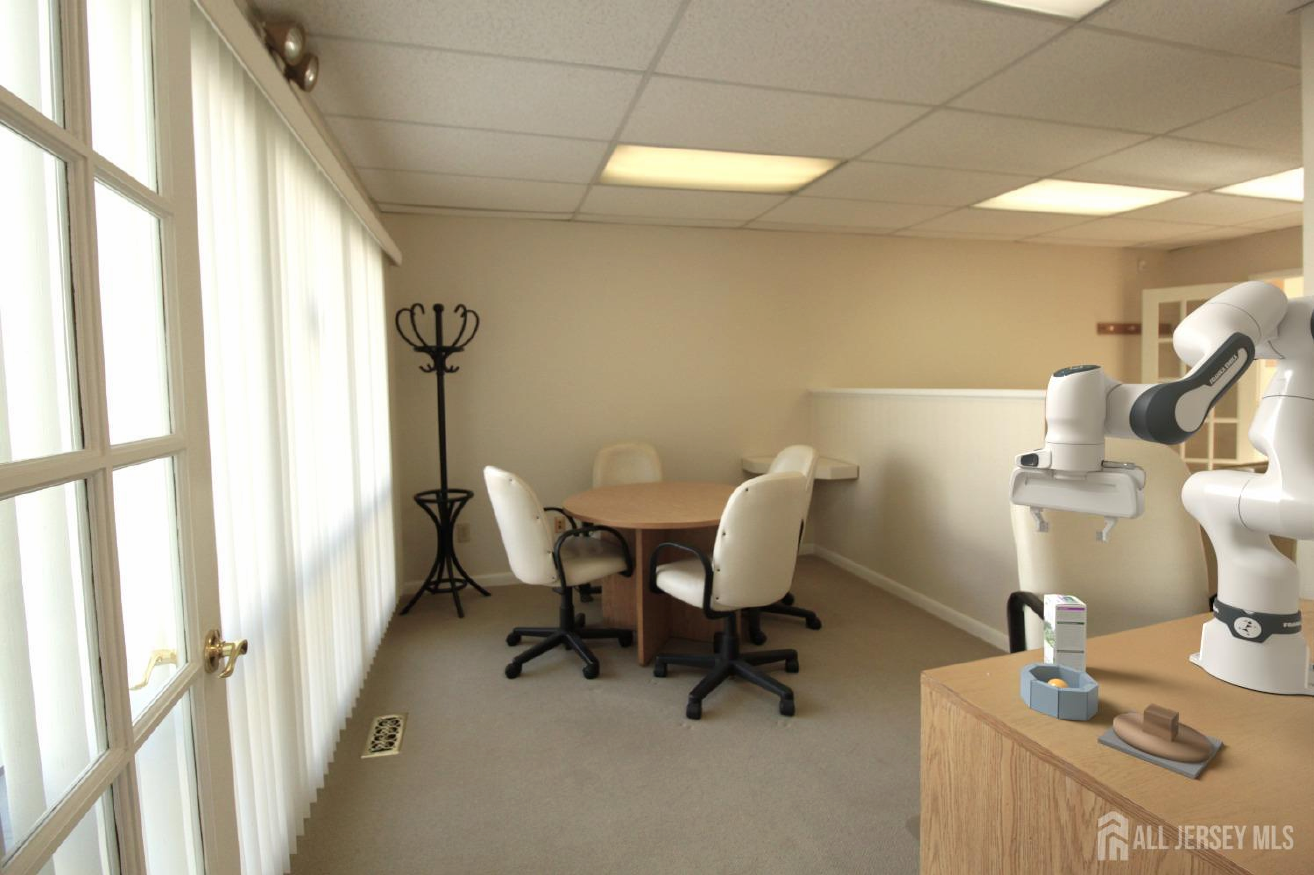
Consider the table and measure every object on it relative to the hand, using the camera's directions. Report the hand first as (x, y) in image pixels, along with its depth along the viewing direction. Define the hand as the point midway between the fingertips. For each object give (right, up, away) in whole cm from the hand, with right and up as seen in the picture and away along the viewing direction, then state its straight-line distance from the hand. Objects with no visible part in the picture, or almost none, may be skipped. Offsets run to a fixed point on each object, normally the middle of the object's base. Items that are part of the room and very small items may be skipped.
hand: (1071, 536), depth 111 cm
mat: (+6, -31, -12) cm, 34 cm away
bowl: (-2, -30, 0) cm, 30 cm away
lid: (+6, -30, -12) cm, 33 cm away
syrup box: (+7, -29, +13) cm, 33 cm away
